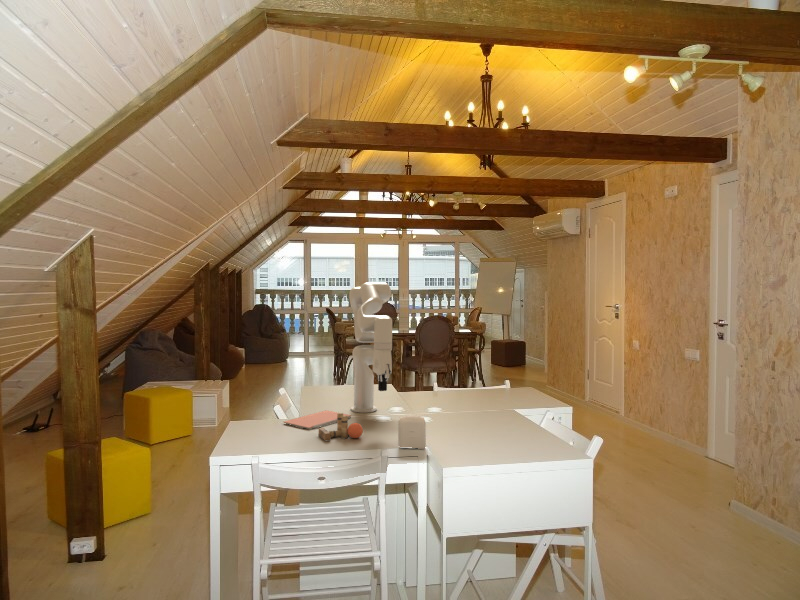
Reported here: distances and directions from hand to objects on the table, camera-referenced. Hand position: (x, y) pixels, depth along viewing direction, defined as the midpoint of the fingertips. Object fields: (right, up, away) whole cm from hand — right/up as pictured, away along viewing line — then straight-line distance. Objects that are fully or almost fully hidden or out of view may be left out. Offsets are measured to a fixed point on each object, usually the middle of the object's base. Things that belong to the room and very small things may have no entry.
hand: (382, 390), depth 222 cm
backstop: (-23, -17, -10) cm, 30 cm away
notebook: (-29, -17, +16) cm, 37 cm away
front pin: (-13, -16, -6) cm, 22 cm away
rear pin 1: (-17, -17, -5) cm, 25 cm away
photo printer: (+12, -18, -22) cm, 31 cm away
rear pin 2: (-15, -17, -9) cm, 25 cm away
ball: (-11, -14, -10) cm, 20 cm away
